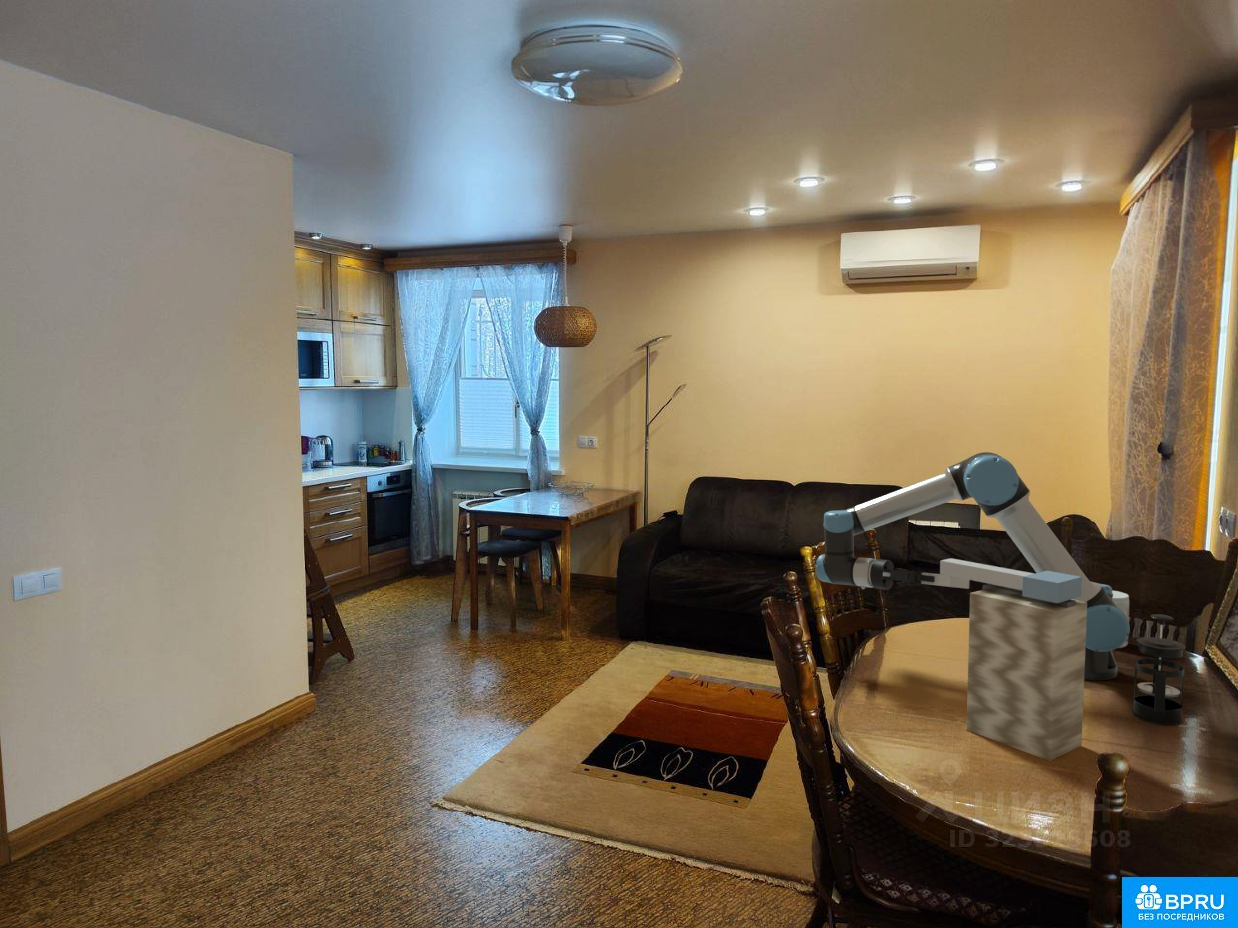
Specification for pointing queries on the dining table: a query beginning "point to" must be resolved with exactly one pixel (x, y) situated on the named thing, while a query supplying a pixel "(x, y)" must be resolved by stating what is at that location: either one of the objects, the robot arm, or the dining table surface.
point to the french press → (1159, 680)
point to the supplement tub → (1122, 606)
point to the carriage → (1018, 580)
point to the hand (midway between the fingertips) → (959, 582)
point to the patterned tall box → (1026, 671)
